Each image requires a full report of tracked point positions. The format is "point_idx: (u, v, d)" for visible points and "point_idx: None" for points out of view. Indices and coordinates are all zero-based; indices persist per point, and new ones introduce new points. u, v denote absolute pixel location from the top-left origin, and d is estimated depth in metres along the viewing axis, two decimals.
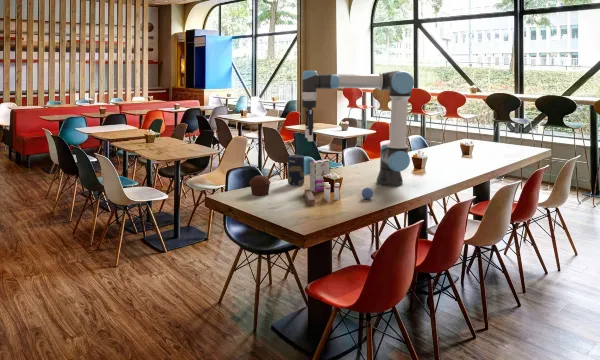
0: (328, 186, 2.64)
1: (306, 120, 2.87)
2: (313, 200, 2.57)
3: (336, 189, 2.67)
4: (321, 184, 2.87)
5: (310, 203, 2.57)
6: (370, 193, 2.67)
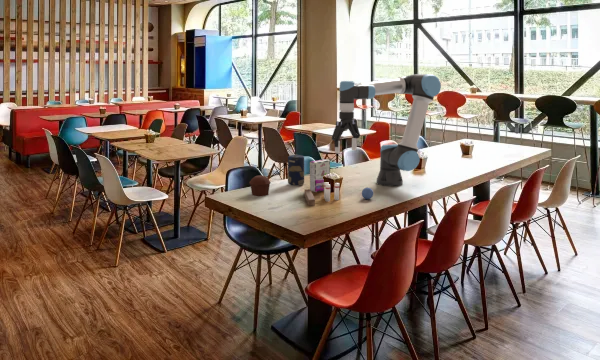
0: (328, 186, 2.64)
1: (350, 132, 2.78)
2: (313, 200, 2.57)
3: (336, 189, 2.67)
4: (321, 184, 2.87)
5: (310, 203, 2.57)
6: (370, 193, 2.67)
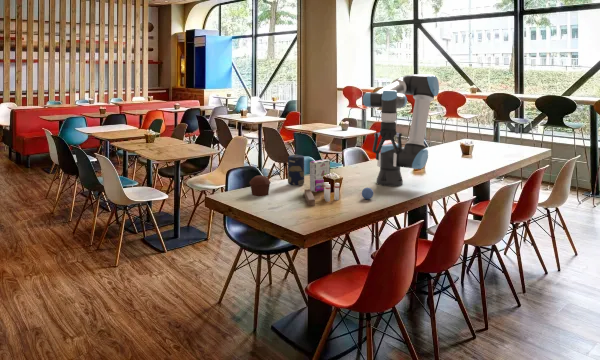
0: (328, 186, 2.64)
1: (392, 145, 2.67)
2: (313, 200, 2.57)
3: (336, 189, 2.67)
4: (321, 184, 2.87)
5: (310, 203, 2.57)
6: (370, 193, 2.67)
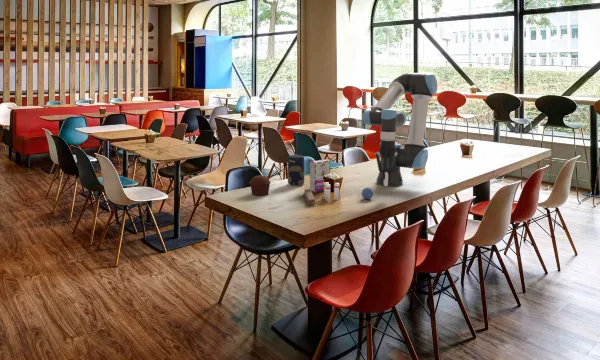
0: (328, 186, 2.64)
1: (387, 163, 2.69)
2: (313, 200, 2.57)
3: (336, 189, 2.67)
4: (321, 184, 2.87)
5: (310, 203, 2.57)
6: (370, 193, 2.67)
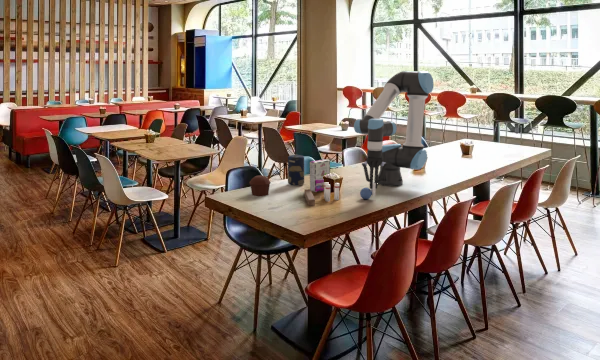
0: (328, 186, 2.64)
1: None
2: (313, 200, 2.57)
3: (336, 189, 2.67)
4: (321, 184, 2.87)
5: (310, 203, 2.57)
6: (368, 193, 2.67)
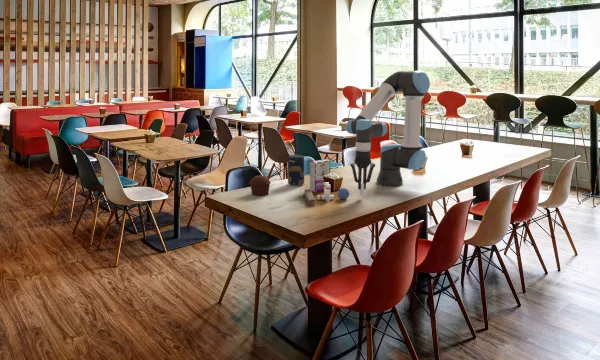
0: (328, 186, 2.64)
1: (363, 173, 2.69)
2: (313, 200, 2.57)
3: (323, 198, 2.68)
4: (321, 184, 2.87)
5: (310, 203, 2.57)
6: (343, 196, 2.66)
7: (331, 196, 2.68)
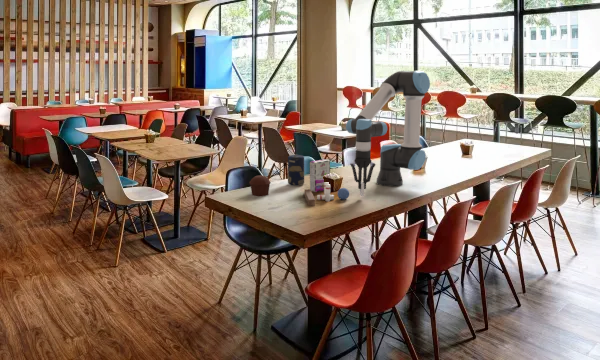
0: (328, 186, 2.64)
1: (363, 173, 2.69)
2: (313, 200, 2.57)
3: (323, 198, 2.68)
4: (321, 184, 2.87)
5: (310, 203, 2.57)
6: (343, 196, 2.66)
7: (331, 196, 2.68)
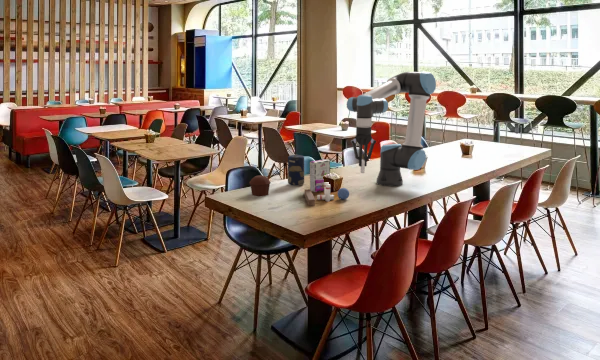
0: (328, 186, 2.64)
1: (364, 150, 2.66)
2: (313, 200, 2.57)
3: (323, 198, 2.68)
4: (321, 184, 2.87)
5: (310, 203, 2.57)
6: (343, 196, 2.66)
7: (331, 196, 2.68)
